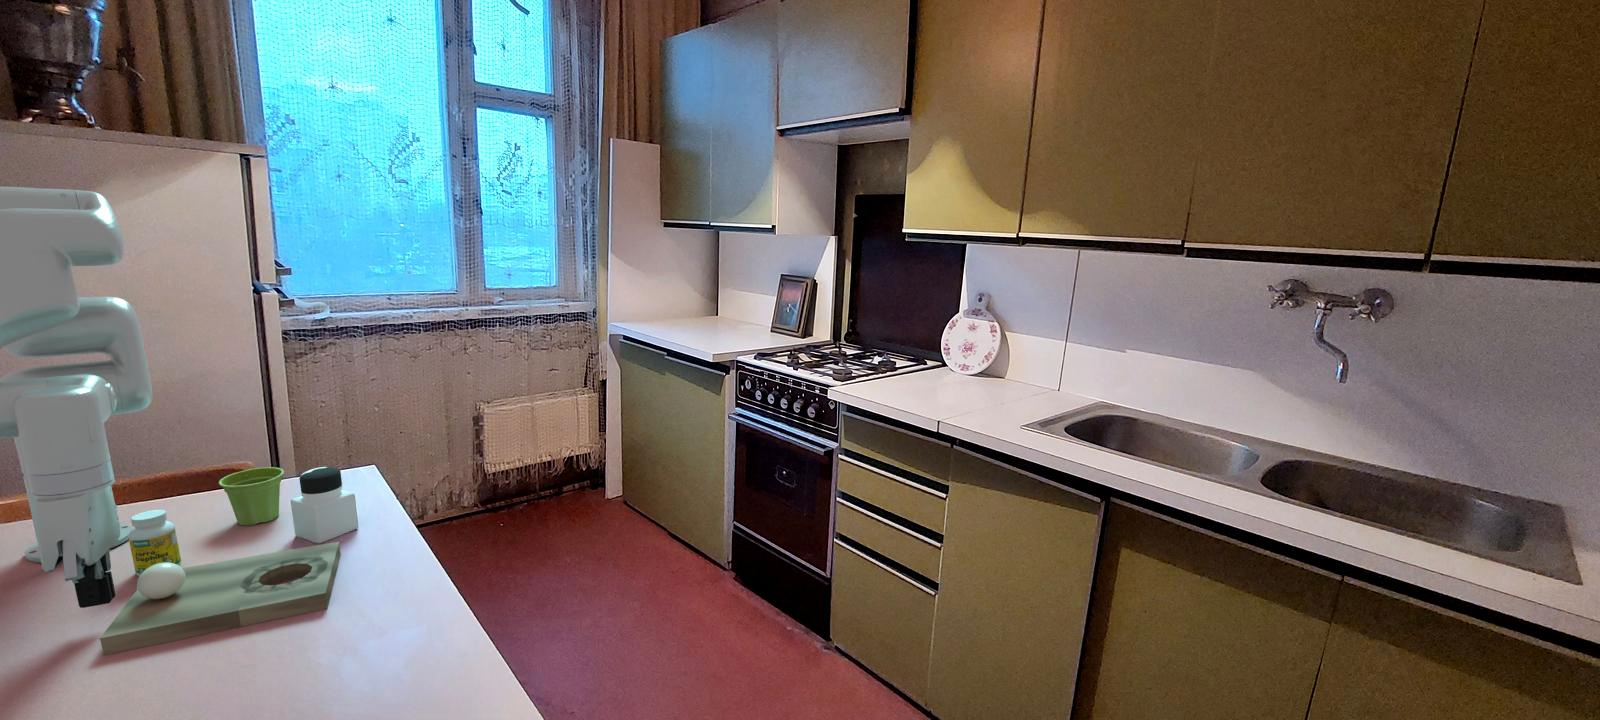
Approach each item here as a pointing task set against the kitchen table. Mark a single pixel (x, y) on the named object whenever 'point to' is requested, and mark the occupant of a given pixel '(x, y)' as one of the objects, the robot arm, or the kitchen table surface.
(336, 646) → the kitchen table surface
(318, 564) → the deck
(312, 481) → the medicine bottle
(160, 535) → the supplement bottle
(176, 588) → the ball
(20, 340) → the robot arm
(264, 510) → the plant pot
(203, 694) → the kitchen table surface
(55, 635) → the kitchen table surface
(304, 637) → the kitchen table surface
